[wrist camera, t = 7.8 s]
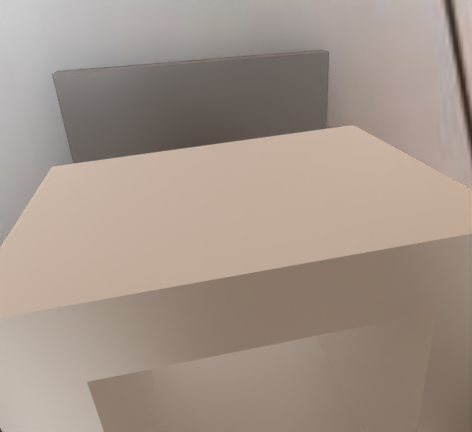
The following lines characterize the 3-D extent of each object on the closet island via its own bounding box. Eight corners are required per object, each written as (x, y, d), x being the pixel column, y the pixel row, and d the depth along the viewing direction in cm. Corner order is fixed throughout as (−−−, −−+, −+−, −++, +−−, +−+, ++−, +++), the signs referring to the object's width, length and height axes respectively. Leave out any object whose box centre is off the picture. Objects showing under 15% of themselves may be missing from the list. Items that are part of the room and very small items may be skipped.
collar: (119, 391, 12) (100, 624, 7) (52, 166, 9) (-52, 326, 4) (344, 344, 12) (452, 528, 8) (353, 124, 9) (532, 222, 5)
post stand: (110, 295, 24) (97, 377, 18) (56, 71, 18) (17, 95, 13) (314, 264, 25) (358, 331, 20) (321, 50, 20) (382, 63, 14)
